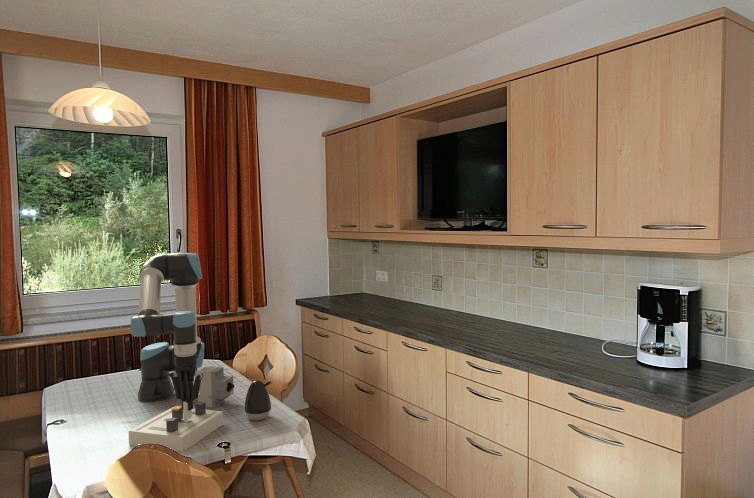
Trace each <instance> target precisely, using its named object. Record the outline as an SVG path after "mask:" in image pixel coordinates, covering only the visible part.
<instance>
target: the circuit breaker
mask: <svg viewBox="0 0 754 498" xmlns="http://www.w3.org/2000/svg"><path fill="white" fill-rule="evenodd" d="M197 371H198V372H199V373H200V374H201V373H202V374H203V377H202V379H201V384H200V389H199V395H198V398H197V403H199V402H205V404H206V408H217V407H218V406H219V405H221V404H222V403H223V402H225V399H227V398H229V397H230V396H232V395H233V394H234V393H235V392H234V391H235V389H234V388H235V384H234V376H233V375H224V374H225V372H224V367H223V366H209V365H208V366H205V367H202V368H201V369H200V370H197Z"/></svg>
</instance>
